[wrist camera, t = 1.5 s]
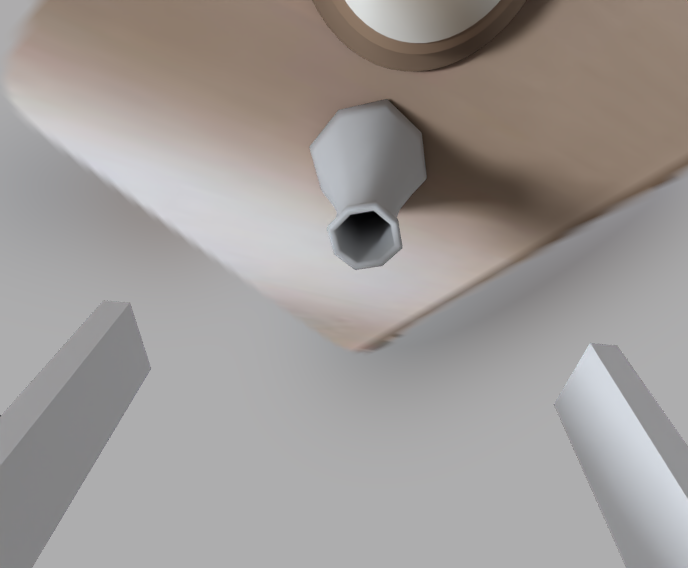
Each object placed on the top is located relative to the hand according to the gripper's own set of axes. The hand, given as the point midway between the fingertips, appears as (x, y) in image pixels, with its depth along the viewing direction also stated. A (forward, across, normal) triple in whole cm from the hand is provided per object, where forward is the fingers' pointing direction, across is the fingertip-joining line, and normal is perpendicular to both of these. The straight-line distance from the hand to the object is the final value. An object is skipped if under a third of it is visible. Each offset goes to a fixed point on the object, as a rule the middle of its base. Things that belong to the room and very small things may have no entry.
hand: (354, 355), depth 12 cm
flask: (+17, 0, 0) cm, 17 cm away
